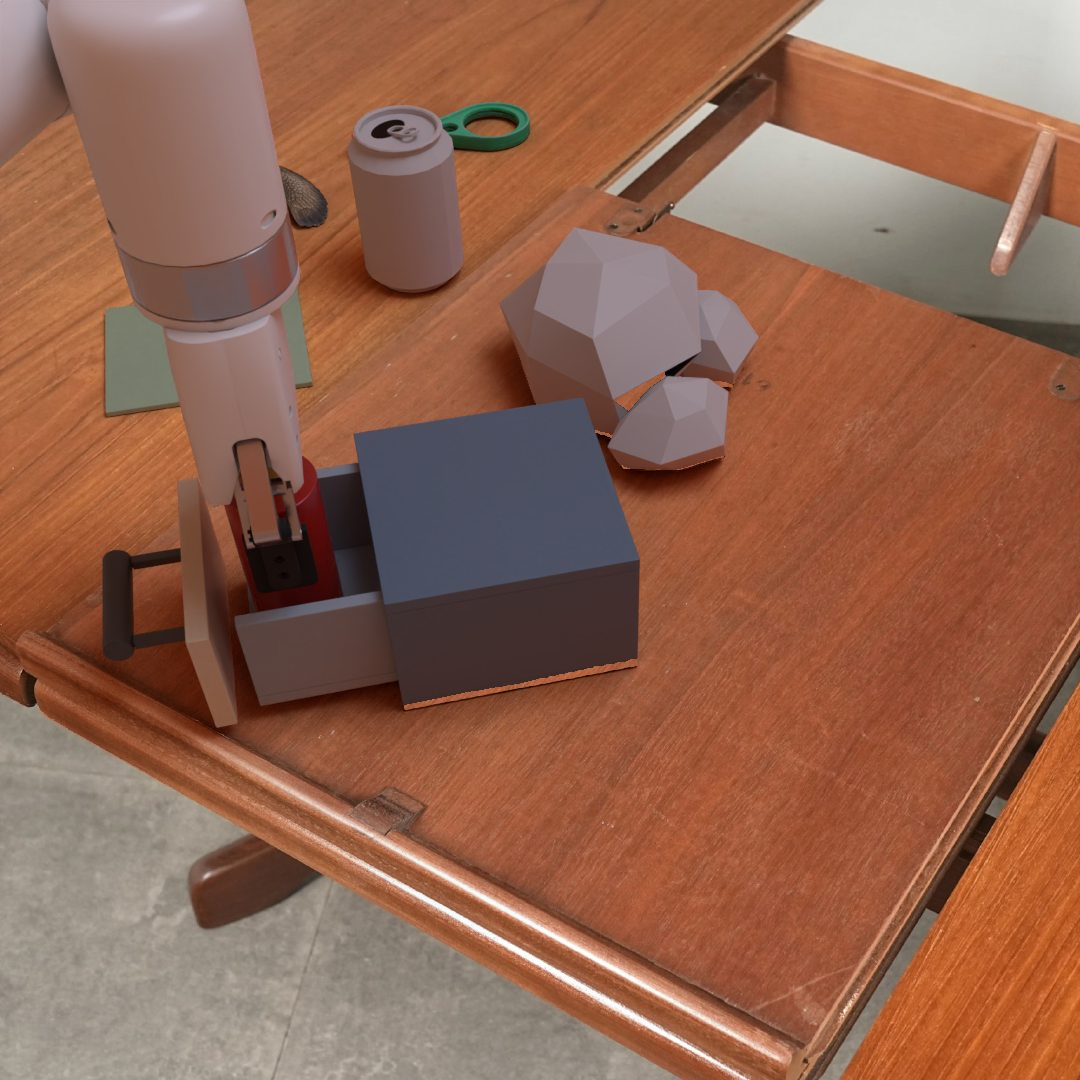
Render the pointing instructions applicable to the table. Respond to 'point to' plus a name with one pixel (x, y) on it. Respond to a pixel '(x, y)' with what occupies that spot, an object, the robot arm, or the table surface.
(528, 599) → the cabinet
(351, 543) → the drawer
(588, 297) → the rock
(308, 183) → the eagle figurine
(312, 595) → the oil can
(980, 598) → the table surface
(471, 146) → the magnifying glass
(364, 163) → the can
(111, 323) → the mat
